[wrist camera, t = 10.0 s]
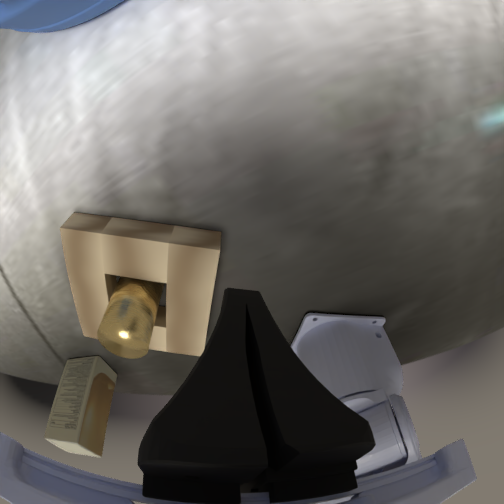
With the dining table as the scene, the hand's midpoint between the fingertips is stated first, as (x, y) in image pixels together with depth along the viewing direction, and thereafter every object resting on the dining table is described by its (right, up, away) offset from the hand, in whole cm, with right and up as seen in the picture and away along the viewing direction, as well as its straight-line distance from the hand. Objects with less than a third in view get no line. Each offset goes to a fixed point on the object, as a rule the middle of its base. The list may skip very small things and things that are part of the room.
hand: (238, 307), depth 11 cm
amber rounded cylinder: (-9, 0, +12) cm, 15 cm away
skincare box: (-20, -12, +19) cm, 30 cm away
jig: (-9, 0, +12) cm, 15 cm away
